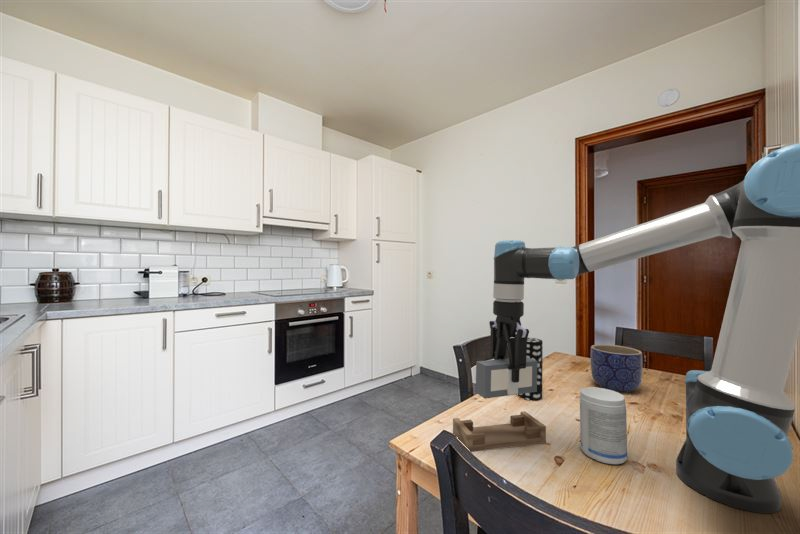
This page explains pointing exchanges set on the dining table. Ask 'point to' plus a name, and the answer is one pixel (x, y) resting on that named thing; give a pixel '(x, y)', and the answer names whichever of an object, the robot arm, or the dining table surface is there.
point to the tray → (500, 433)
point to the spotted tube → (537, 354)
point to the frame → (503, 378)
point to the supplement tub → (603, 425)
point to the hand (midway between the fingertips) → (506, 390)
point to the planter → (616, 367)
